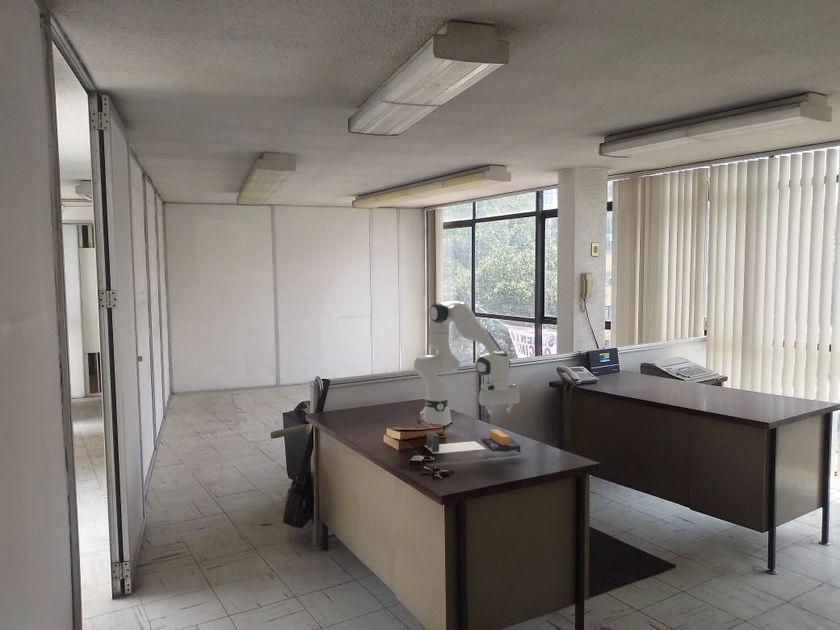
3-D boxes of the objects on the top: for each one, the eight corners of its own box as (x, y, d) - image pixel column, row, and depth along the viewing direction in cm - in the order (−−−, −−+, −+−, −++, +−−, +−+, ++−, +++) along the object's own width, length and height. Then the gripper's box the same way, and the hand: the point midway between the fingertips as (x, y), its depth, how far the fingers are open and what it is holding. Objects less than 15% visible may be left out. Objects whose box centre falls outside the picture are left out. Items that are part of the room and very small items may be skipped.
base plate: (424, 447, 294) (424, 445, 294) (474, 443, 302) (474, 441, 302) (433, 455, 281) (433, 453, 281) (486, 451, 288) (486, 448, 288)
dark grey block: (426, 446, 292) (426, 431, 292) (432, 445, 293) (432, 430, 292) (432, 451, 283) (432, 436, 283) (439, 451, 284) (439, 435, 283)
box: (480, 444, 304) (492, 454, 285) (480, 437, 304) (492, 447, 285) (507, 442, 307) (520, 452, 288) (507, 435, 307) (520, 445, 288)
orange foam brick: (501, 445, 289) (501, 437, 288) (489, 437, 302) (489, 429, 302) (509, 444, 290) (509, 436, 289) (497, 437, 303) (497, 429, 303)
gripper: (516, 382, 300) (515, 410, 301) (477, 384, 294) (477, 413, 295) (522, 385, 294) (521, 413, 295) (482, 387, 288) (482, 416, 289)
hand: (499, 413), depth 295 cm, fingers open, 8 cm apart
